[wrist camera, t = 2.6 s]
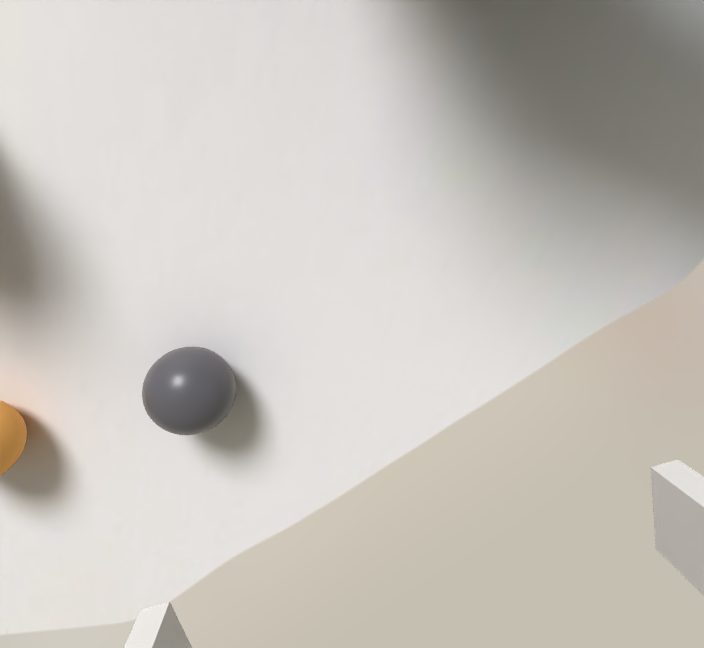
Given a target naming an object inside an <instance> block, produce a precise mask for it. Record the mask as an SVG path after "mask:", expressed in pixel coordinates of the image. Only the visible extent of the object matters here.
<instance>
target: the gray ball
mask: <svg viewBox="0 0 704 648" xmlns="http://www.w3.org/2000/svg"><path fill="white" fill-rule="evenodd" d="M235 395H236V381H235V377H234V374H233V372H232V370H231V368H230V366H229V365H228V363H227V362H226V361H225V360H224V359H223V358H222V357H221V356H219V355H218V354H216V353H215V352H213V351H211V350H208V349H205V348H200V347H183V348H179V349H176V350H173V351H171V352H168V353H167V354H165V355H163V356H162V357H161V358H159V359H158V360H157V361H156V362H155V363H154V364H153V366H152V367H151V368H150V370H149V371H148V373H147V375H146V377H145V380H144V383H143V390H142V398H143V403H144V407H145V409H146V412H147V414H148V415H149V417H150V418H151V419H152V420H153V422H155V423H156V424H157V425H158V426H159V427H161V428H162V429H164V430H166V431H168V432H171V433H174V434H179V435H194V434H199V433H202V432H205V431H207V430H210V429H211V428H213V427H215V426H216V425H217V424H219V423H220V422H221V421H222V420H223V419H224V418H225V417H226V416H227V414H228V413H229V411H230V409H231V407H232V406H233V403H234V400H235Z"/></svg>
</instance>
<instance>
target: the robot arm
mask: <svg viewBox="0 0 704 648" xmlns="http://www.w3.org/2000/svg"><path fill="white" fill-rule="evenodd" d="M651 479H652V496H653V512H654V528H655V544H656V549H657V550H658V551H659V552H660V553H661V554H662V555H663V556H664V557H665V558H666V559H667V560H668V561H669V562H670V563H671V564H672V565H673V566H674V567H675V568H676V569H677V570H678V571H679V572H680V573H681V574H682V575H683V576H684V577H685V578H686V579H687V580H688V581H689V582H690V583H691V584H692V585H693V586H694V587H695V588H696V589H697V590H698V591H699V592H700V593H701V594H702V595H703V596H704V477H703V476H702V475H700V474H699V473H697V472H696V471H694V470H693V469H691V468H690V467H688V466H687V465H685V464H684V463H683V462H681V461H680V460H675V461H671V462H668V463H664V464H661V465H657V466H654V467H651ZM124 648H192V646H191V644H190V642H189V640H188V638H187V636H186V634H185V632H184V630H183V628H182V626H181V624H180V622H179V620H178V618H177V616H176V614H175V612H174V610H173V608H172V605H171V603H170V602H166V603H162V604H159V605H155V606H152V607H148V608H145V609H141V610H140V613H139V615H138V617H137V619H136V622H135V624H134V626H133V629H132V631H131V633H130V635H129V637H128V640H127V642H126V644H125V647H124Z"/></svg>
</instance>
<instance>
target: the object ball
mask: <svg viewBox="0 0 704 648" xmlns="http://www.w3.org/2000/svg"><path fill="white" fill-rule="evenodd" d="M26 439H27V429H26V424H25V422H24V420H23V418H22V416H21V415H20V414H19V412H18V411H17V410H16V409H14V408H13V407H12V406H10V405H9V404H7V403H5V402H3V401H0V475H2V474H3V473H4V472H6V471H7V470H8V469H9V468H10V467H11V466H12V465H13V464H14V463H15V462H16V461H17V460H18V458H19V457H20V455H21V454H22V452H23V450H24V447H25V444H26Z"/></svg>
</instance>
